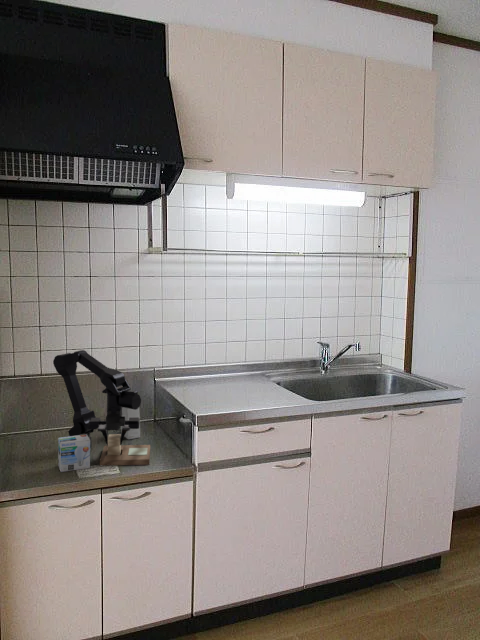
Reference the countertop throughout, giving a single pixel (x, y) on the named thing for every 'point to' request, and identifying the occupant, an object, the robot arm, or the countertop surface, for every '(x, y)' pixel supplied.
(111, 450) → the maple block
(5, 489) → the countertop surface
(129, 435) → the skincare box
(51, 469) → the countertop surface
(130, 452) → the pocket board
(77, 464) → the light bulb box
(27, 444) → the countertop surface
